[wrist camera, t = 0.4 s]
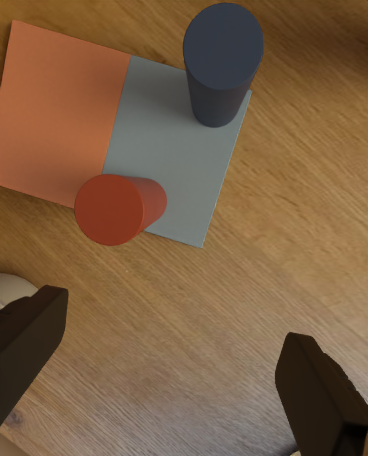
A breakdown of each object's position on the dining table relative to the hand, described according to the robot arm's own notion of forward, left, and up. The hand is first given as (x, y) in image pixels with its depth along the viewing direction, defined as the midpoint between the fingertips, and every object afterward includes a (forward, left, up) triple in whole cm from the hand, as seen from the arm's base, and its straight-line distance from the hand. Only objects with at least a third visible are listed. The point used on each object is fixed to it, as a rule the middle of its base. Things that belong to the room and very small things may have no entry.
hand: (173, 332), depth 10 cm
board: (-7, -11, -20) cm, 24 cm away
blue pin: (-13, -2, -19) cm, 23 cm away
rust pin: (-2, -6, -19) cm, 20 cm away
